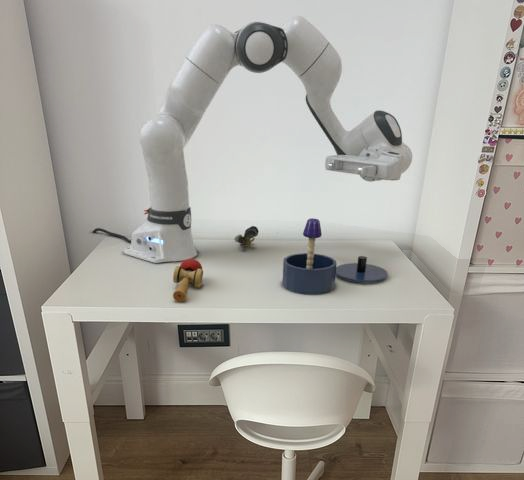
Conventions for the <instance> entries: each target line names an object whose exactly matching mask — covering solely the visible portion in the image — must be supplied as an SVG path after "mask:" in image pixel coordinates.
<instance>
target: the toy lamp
mask: <svg viewBox="0 0 524 480" xmlns="http://www.w3.org/2000/svg"><path fill="white" fill-rule="evenodd" d="M302 235H303V237H305V238H308V243H307V247H308V248H307V253H308V255H307V266H306V269H313V266H312V265H313V258H314V254H315V246H316V243H315V241H316V239H320V238H321V237H322V235H323V234H322V228H321V221H320V220H319V219H318V218H308V219H307V220H306V224H305V226H304V228H303V232H302Z"/></svg>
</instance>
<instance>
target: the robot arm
mask: <svg viewBox="0 0 524 480" xmlns="http://www.w3.org/2000/svg"><path fill="white" fill-rule="evenodd" d="M280 63H283V64H285V65H286V66H287V67H288V68H289V69H291V71H292V72H293V73H294V74H295V75H296V77H297V78H298V79H299V80H300V82H301V83H302V85H303V87H304V90H305V103H306V105H307V108H308V110H309V112H310V113H311V115H312V116H313V118H314V119H315V121H316V123H317V124H318V125H319V128H320V129H321V130H322V132H323V133H324V134H325V136H326V137H327V140H329V142H330V144H331V145H332V147H333V149H334V152H335V153H336V154H335V155H334V154H333V155H327V156H326V157H325V160H324V161H325V163H324V168H325V171H329V172H337V173H344V174H351V175H358V176H359V177H360V179H363V181H365V182H371V183H372V182H376V181H377V182H379V181H396V182H397V181H399V180H401V177H402V174H404V173H405V172H406V171H407V170H408V169H409V168H410V166H411V164H412V163H413V162H412V161H413V152H412V149H411V148H410V146H409V145H407V144H406V143H404V142H403V133H402V129H401V126H400V124H399V122H398V120H397V118H396V117H395V116H393V114H391V113H389V112H388V111H384V110H379V109H378V110H375V111H374V112H373V113H371V114H369V115H368V116H367V117H366V118H364V119H363V120H362V121H361V122H360V123H359V124H357V125H356V126H354V128H352V129H351V130H346V129H345V128H344V126H343V125H342V123H341V122H340V120H339V119H338V117H337V115H336V113H335V111H334V110H333V108H332V105H331V100H332V96H333V95H334V92H335V90H336V89H337V86H338V84H339V83H340V82H339V81H340V79H341V76H342V71H343V64H342V63H343V62H342V58H341V56H340V54H339V52H338V50H337V49H336V48H335V47H334V46H333V44H331V42H330V41H329V40H328V39H327V38H326V37H325V35H324V34H323V33H322V32H321V31H320V30H319V29H318V28H317V27H316V26H315V25H313V24H312V23H311V22H310V21H309V20H307V19H306V18H305V17H303V16H301V15H294V16H291V17H289V18H288V19H287V20H285V21H284V22H283V23H282V25H281V26H279V27H278V26H275V25H271V24H269V23H266V22H262V21H251V22H249V23H247V24H246V25H245V26H243V27H242V28H240V29H238V30H237V31H235V32H232V31H230V30H229V29H227V27H225V26H223V25H221V24H217V23H212V24H209V25H207V26H206V27H205V28H204V29H203V30H202V32H201V33H200V34H199V35H198V37H197V38H196V39H195V40H194V42H193V44H192V45H191V47H190V48H189V50H188V51H187V53H186V54H185V56H184V58H183V60H182V61H181V63H180V66H179V67H178V69H177V71H176V73H175V74H174V76H173V77H172V80H171V81H170V83H169V84H168V88H167V90H166V93H165V95H164V98H163V99H162V102H161V104H160V106H159V108H158V110H157V112H156V114H155V115H153V116H150V117H149V118H147V119H146V120H145V121H144V122H143V125H142V126H141V129H140V132H139V144H140V147H141V150H142V155H143V161H144V166H145V170H146V174H147V179H148V180H147V181H148V188H149V199H150V207H149V208H148V209H145V210H143V215H147V218H146V220H145V221H144V222H142V224H140V226H138V227H137V228H136V229H134V231H132V233H131V236H130V239H129V238H128V237H126V235H125V236H124V235H122V234H119V233H115V232H111V231H109V230H106V229H104V228H102V227H97V228H95V229H93V230H92V232H91V233H92V234H95V233H97V232H102V233H104V234H107V235H110V236H113V237H117V238H120V239H123V240H124V241H125V242H127V243H129V244H130V245H129V246H127V247H125V248H124V249H123V254H125V255H127V256H131V257H133V258H137V259H141V260H144V261H147V262H151V263H154V264H161V263H166V262H169V263H170V262H181V261H182V262H183V261H184V260H186V259H190V258H192V259H194V258H195V257H196V256H198V252H197V249H196V245H195V242H194V238H193V233H192V207H191V206H190V195H189V179H188V174H187V169H186V162H185V152H184V150H185V148H186V147H187V146H188V143H189V142H190V140H191V138H192V136H193V135H194V133H195V132H196V129H197V127H198V125H199V124H200V122H201V120H202V118H203V116H204V115H205V112H207V109H208V108H209V106H210V105H211V103H212V102H213V99H214V98H215V96H216V94H217V93H218V91H219V90H220V88H221V86H222V84H223V83H224V81H225V80H226V78H227V76H228V74H229V73H231V71H232V70H233V69H234V68H235V67H238V66H240V67H242V68H244V69H245V70H246V71H248V72H251V73H253V74H263V73H266V72H269V71H270V70H272V69H273V68H274V67H276V66H277V65H280Z"/></svg>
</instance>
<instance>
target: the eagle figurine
mask: <svg viewBox="0 0 524 480" xmlns="http://www.w3.org/2000/svg"><path fill="white" fill-rule="evenodd" d="M259 233H260V232H259V229H258V227H257V226H255V225H251V226H250V227H248V228H247V229H245V230H244V234H243V235H242V234H238V235H236V236H234V242H235V243H239V245H240V246H243V247H242V252H244V251H245V250H246V249H247V248H248V247H250V248H251V249H254V248H255V247H254V244H253V242H254V241H255V239H256V238H255V237H257V236H258V235H259Z"/></svg>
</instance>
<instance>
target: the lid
mask: <svg viewBox="0 0 524 480" xmlns="http://www.w3.org/2000/svg"><path fill="white" fill-rule="evenodd" d="M367 261H368V257H367V256H364V255H359V256H358V257H357V262H349V263H342V264H339V265H337V266H336V276H337V277H338V278H340V279H343V280H345V281H350V282H353V283H366V284H367V283H378V282H382V281H384V280H387V278H388V275H389V273H388V271H387V270H386V269H385V268H383V267H380V266H378V265H375V264H370V263H367Z"/></svg>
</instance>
